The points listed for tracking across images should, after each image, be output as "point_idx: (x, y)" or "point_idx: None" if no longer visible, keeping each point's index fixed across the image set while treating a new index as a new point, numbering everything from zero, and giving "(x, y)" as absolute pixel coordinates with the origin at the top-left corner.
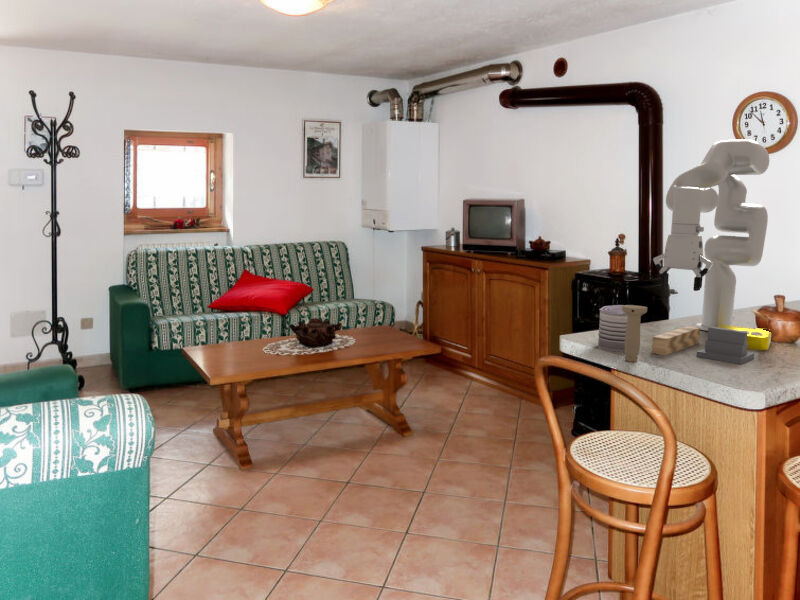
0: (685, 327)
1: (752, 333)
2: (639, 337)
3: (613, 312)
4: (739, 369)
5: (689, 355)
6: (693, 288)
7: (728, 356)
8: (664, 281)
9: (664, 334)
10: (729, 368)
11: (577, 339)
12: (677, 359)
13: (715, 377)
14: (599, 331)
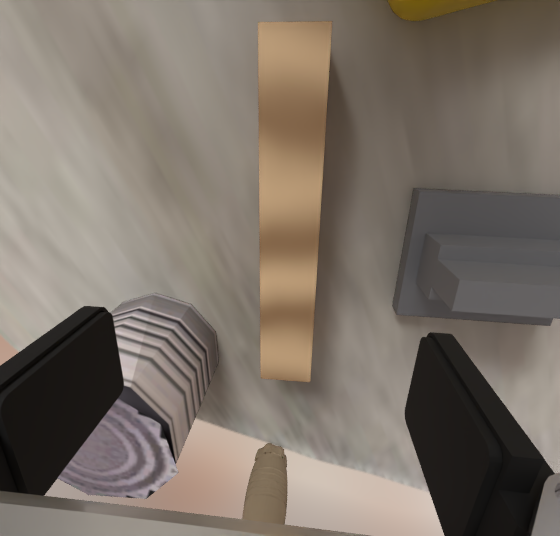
0: (269, 79)
1: None
2: (284, 521)
3: (110, 487)
4: (537, 374)
5: (368, 304)
6: (408, 428)
7: (505, 319)
8: (90, 417)
9: (271, 317)
10: (508, 380)
11: (27, 325)
12: (356, 372)
13: None
14: None
